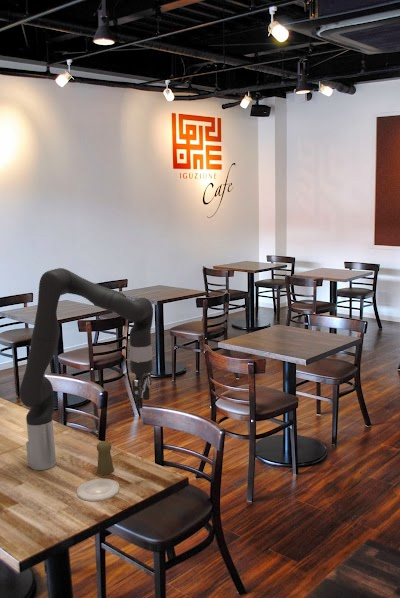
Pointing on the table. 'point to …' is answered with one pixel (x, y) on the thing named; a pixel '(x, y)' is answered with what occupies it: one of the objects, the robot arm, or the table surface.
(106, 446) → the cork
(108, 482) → the cream plate
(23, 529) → the table surface
